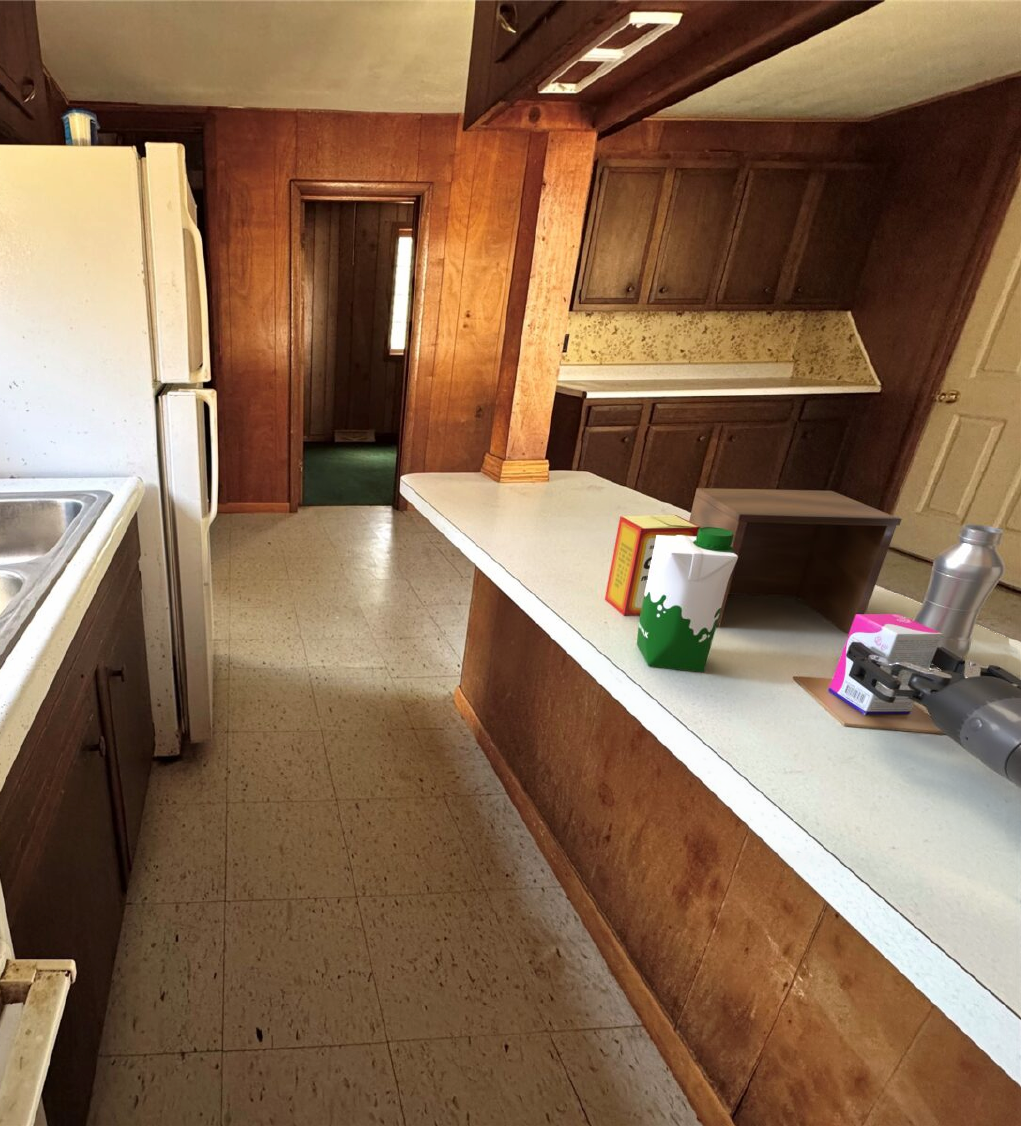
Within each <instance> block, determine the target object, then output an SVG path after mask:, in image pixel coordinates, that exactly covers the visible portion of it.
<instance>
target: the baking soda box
mask: <svg viewBox="0 0 1021 1126" xmlns="http://www.w3.org/2000/svg"><path fill="white" fill-rule="evenodd" d="M699 528H701V527H700V526H698V525H696V524H694V523H691V522H689V520H688V519H685V518H683V517H681V516H679V515H677V514H649V515H628V516H627V515H625V516H623V515H622V516H619V521H618V526H617V532H616V536H615V537H616V538H615V542H614V548H613V553H612V558H611V564H610V569H609V574H608V580H607V585H606V590H605V596H604V601H606V602H607V603H608V604H610V606H611V607H613V608H614V609H615V610H616V611H618V612H619V614H620V615H622V616H626V617H627V616H640V613H641V609H642V604H643V599H644V594H645V589H646V584H647V580H648V575H649V570H650V565H651V561H652V556H653V551H654V546H655V541H656V536H657V535H665V536H676V535H684V536H694V537H697V533H698V530H699Z"/></svg>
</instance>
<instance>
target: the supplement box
mask: <svg viewBox="0 0 1021 1126" xmlns="http://www.w3.org/2000/svg"><path fill="white" fill-rule="evenodd" d="M913 620H914V619H911V618H908V617H906V616H905V615H902V614H900V613H882V614H881V613H879V614H878V613H877V614H873V613H870V614H869V613H868V614H867V613H865V614H856V615H855V618H854V621H853V624H852V627H851V629H850V632H849V635H848V636H847V638H846V640H845V644H844V646H843V649H842V652H841V653H840V657H839V660H838V663H837V665H836V668H835V671H834V674H833V676H832V678H831V679H832V681H831V684H830V687H829V689H828V691H829V692H830V693H832V694H833V695H835V696H836V697H838V698H839V699H841V700H842V701H844V702H845V703H847V704H849V705H850V706H851V707H853V708H854V709H856V710H857V711H859V712H860V713H862V714H863V715H908V714H910V712H911V709H912V707H913V705H914V704H915V703H916V702H915V701H912V700H911V699H909V698H908V697H896V698H895V701H894V702H893V703H888V702H885V701H882V700H881V699H879V698H878V697H877V696H875V695H874V694H873V693H871V692H870V691H868V690H867V689H866V688H864V687H863V686H862V685H860V684H859V683H858V682H856V681H855V680H854V679H852V678H851V677H850V676H849V673H850V670H851V667H852V665H853V662H852V661H851V660H850V659H849V658H847V656H846V654H847V651H848V648H849V646H850V645H851V643H852V642H861V643H862V644H864V645H865V646H866V647H868V648H869V649H871V650H872V651H873V652H875V653H876V654H878V655H879V657H882V658H885V659H888V660H891V661H893V662H899V661H906V662H909V663H911V664H914V665H917V666H920V667H923V668H926V669H929V670H930V666H931V665H932V664H931V662H932V659H933V657H934V655H935V652H936V650H937V647H938V645H939V642H940V640H941V638H942V636H943V634H942V633H939V632H937V631H935V630H933V629H931V628H928V627H926V626H924V625H922V624H920V623H918V622H915V621H913ZM880 668H881V669H882V670H884V671H885V672H887V673H888V674H890V672H891V670H890V669H889V668H887V667H884V666H880ZM911 675H912V672H909V671H906V670H905V671H904V673H903V676H902V678H901V681H900V682H901V684H903V685H907V686H908V682H909V680H910V677H911Z"/></svg>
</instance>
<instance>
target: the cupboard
mask: <svg viewBox="0 0 1021 1126" xmlns="http://www.w3.org/2000/svg"><path fill="white" fill-rule="evenodd" d="M902 520H903V519H902V518H900V517H896V516H895V515H891V514H889V513H887V512H884V511H882V510H879V509H877V508H875V507H872V506H869V505H867V504H865V503H863V502H861V501H858V500H855V499H853V498H850V497H849V496H845V495H843V494H840V493H838V492H835V491H833V490H817V489H816V490H814V489H812V490H809V489H768V488H767V489H766V488H765V489H763V488H761V489H760V488H759V489H758V488H707V487H696V490H695V495H694V498H693V502H692V507H691V512H690V516H689V520H688V521H689V522H691V523H694V524H696V525H698V526H700V527H701V528H702V527H716V528H722V529H726V530H729V531H731V532H733V533H734V536H733V540H732V544H731V547H732V549H733V551H734V552H735V554H736V555H737V556H738V559H737V561H736V563H735V566H734V568H733V570H732V573H731V575H730V577H729V580H728V584H727V587H726V591H725V595H724V599H723V603H722V606H721V610H720V614H719V618H718V622H717V626H716V628H720V626H721V623H722V618H723V615H724V611H725V607H726V605H727V599H728V596H729V595H746V596H747V595H748V596H768V597H769V596H770V597H786V598H787V597H788V598H796V599H797V600H799V601H800V602H802V603H803V604H804V605H805V606H807V607H809V608H810V609H812V610H813V611H814V612H816V613H817V614H818V615H820V616H821V617H822V618H824V619H825V620H827V621H828V622H830V624H832V625H834V626H835V627H836V628H838V629H839V630H840V631H842V633H845V634H846V635H849V632H850V629H851V627H852V624H853V621H854V618H855V615H856V614H866V612H867V609H868V606H869V604H870V600H871V599H872V595H873V593H874V591H875V590H874V589H875V587H876V585H877V582H878V579H879V576H880V573H881V570H882V568H883V566H884V562H885V560H886V556H887V554H888V551H889V548H890V546H891V544H892V543H891V542H892V540H893V537H894V534H895V532H896V528H897V526H900V525H901V522H902Z"/></svg>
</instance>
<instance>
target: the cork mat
mask: <svg viewBox="0 0 1021 1126" xmlns="http://www.w3.org/2000/svg"><path fill="white" fill-rule="evenodd" d="M792 679H793V680H794V681H795V682H796V683H797V684H798V685H799V686H801V688H803V689H804V690H805V692H807V693H808V694H809V695H810V696H811V697H812V698H813V699H814V700H816V701H817V703H819V704H820V705H821V706H822V707H823V708H824V709H825V710H826V711H827V712H828V713H829V714H830V715H831V716H832V717H834V718H835V720H836V721H838V722H839V723H840V724H841V725H842V726H844V727H852V728H854V727H855V728H866V729H878V730H888V731H889V730H890V731H900V732H901V731H902V732H912V733H923V734H924V733H925V734H937V735H946V734H945V733H944V732H942V731H941V730H940V729H939V728H937V727H936V725H935V724H934V723H933V721H932V719H931V717H930V715H929V713H927V712H925V711H924V710H923V709H921V708H920V707H919V706H918V705H916V704H915V703H914V705H913V707H912V709H911V712H910V714H908V715H863V714H862V713H860V712H859V711H857V710H856V709H854V708H853V707H851V706H850V705H849V704H847V703H845V702H844V701H842V700H841V699H839V698H838V697H836V696H835V695H833V694H832V693H830V692H829V691H828V689H829V687H830V684H831V681H832V679H833V678H829V677H814V676H813V677H812V676H803V675H801V676H799V675H793V677H792Z"/></svg>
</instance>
